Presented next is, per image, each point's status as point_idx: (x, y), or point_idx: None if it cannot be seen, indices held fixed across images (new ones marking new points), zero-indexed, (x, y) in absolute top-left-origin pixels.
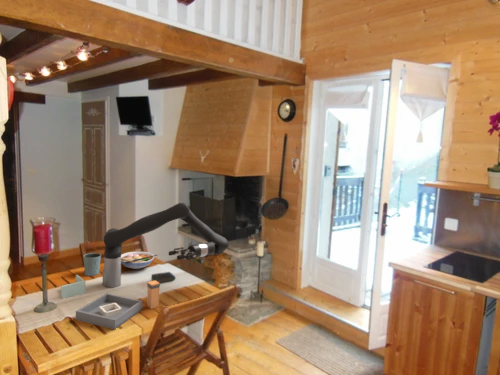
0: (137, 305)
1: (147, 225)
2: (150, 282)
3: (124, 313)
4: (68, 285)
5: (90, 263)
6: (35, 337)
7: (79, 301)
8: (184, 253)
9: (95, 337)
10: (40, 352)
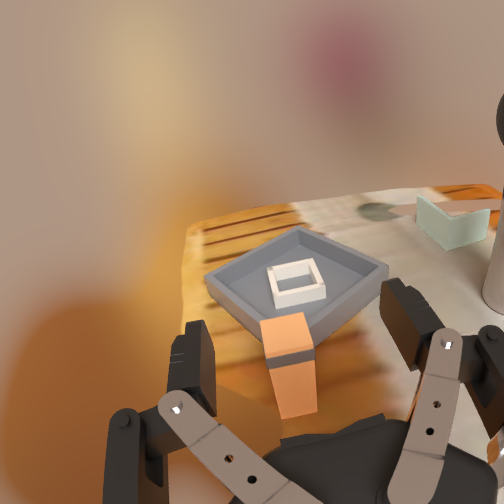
0: None
1: None
2: (293, 320)
3: (225, 293)
4: (425, 202)
5: None
6: (264, 213)
7: (397, 245)
8: (282, 446)
9: (204, 268)
10: (214, 222)
